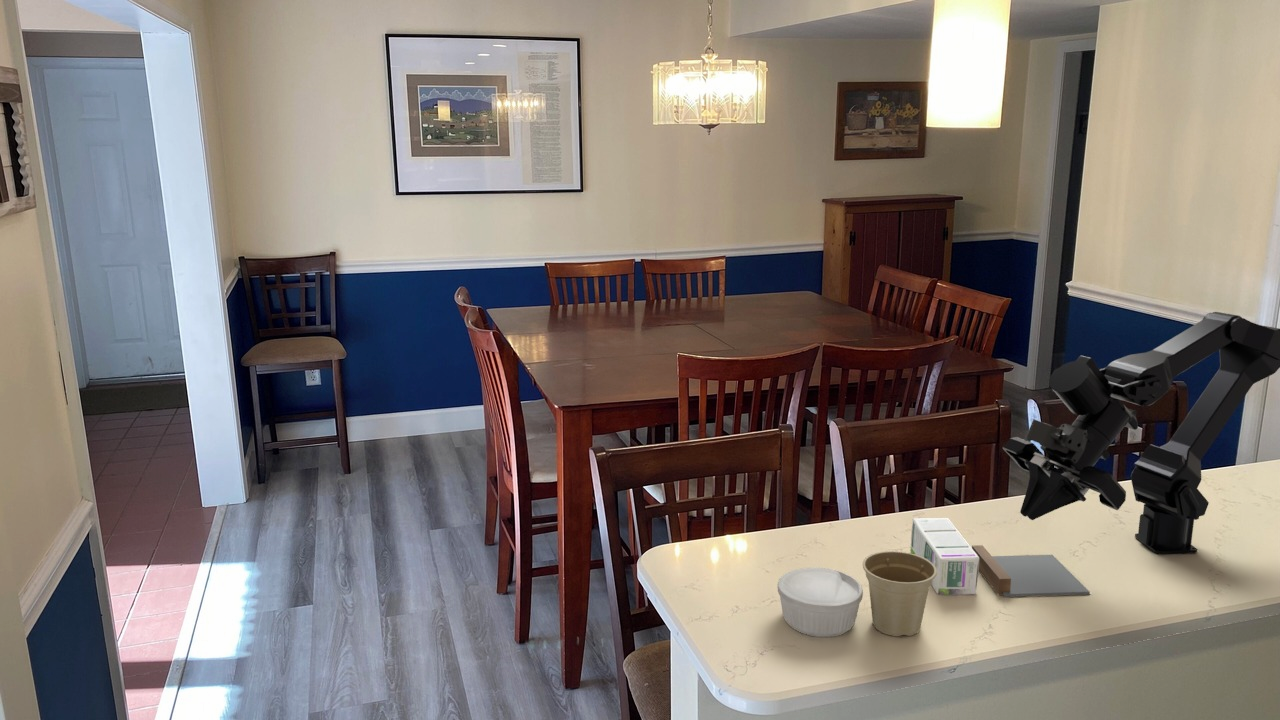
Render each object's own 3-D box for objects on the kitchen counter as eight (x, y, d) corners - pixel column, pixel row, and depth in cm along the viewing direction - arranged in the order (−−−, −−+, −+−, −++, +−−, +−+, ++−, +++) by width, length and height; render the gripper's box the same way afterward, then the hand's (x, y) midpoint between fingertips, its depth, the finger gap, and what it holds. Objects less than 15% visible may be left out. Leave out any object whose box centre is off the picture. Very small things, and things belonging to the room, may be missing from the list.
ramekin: (877, 634, 120) (878, 597, 119) (800, 649, 117) (800, 611, 116) (836, 595, 131) (837, 561, 129) (764, 608, 128) (764, 573, 126)
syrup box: (911, 517, 142) (938, 558, 128) (949, 516, 142) (980, 558, 128) (909, 551, 144) (935, 595, 129) (947, 550, 143) (978, 595, 129)
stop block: (981, 560, 140) (982, 545, 139) (1009, 594, 129) (1011, 578, 128) (971, 560, 140) (971, 545, 139) (998, 595, 129) (999, 578, 128)
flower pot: (935, 613, 125) (938, 555, 123) (932, 649, 116) (935, 587, 114) (864, 604, 128) (866, 547, 126) (857, 638, 119) (859, 577, 117)
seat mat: (1052, 556, 140) (1052, 554, 140) (1089, 594, 128) (1089, 591, 128) (973, 559, 140) (974, 556, 140) (1004, 596, 129) (1004, 594, 128)
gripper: (1016, 385, 138) (952, 464, 137) (1117, 417, 121) (1045, 508, 120) (1053, 428, 143) (992, 505, 141) (1156, 465, 125) (1087, 553, 124)
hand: (1025, 516), depth 132 cm, fingers closed
